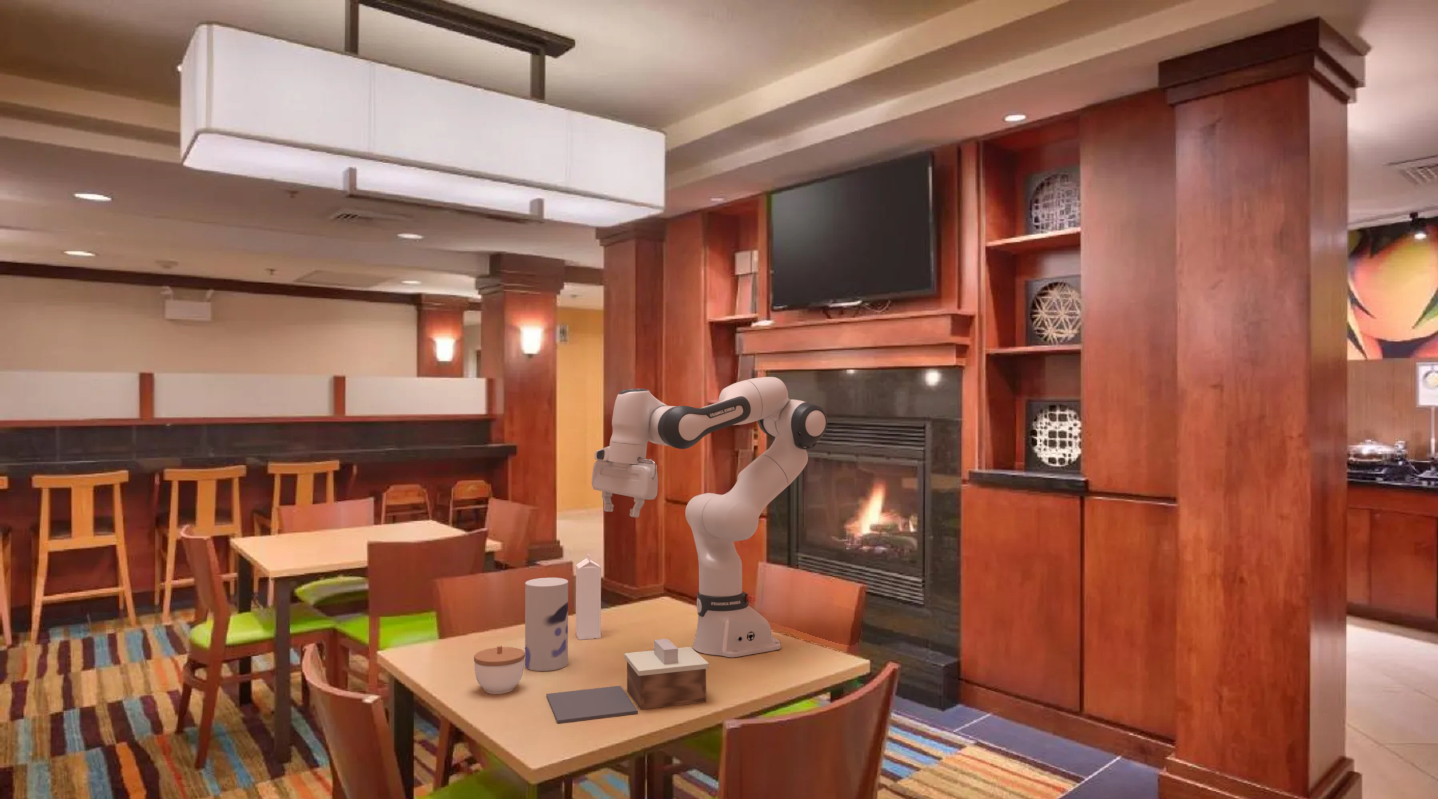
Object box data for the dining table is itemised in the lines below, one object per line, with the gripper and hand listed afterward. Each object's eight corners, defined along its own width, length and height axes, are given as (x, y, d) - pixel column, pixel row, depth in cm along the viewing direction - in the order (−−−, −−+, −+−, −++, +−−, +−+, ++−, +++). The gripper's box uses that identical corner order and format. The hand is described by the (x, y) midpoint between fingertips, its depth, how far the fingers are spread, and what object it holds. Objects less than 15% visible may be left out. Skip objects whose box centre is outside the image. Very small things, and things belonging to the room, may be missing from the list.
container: (558, 673, 192) (558, 586, 192) (517, 670, 194) (518, 584, 194) (574, 660, 201) (574, 577, 202) (535, 657, 203) (536, 576, 204)
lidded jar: (479, 682, 185) (479, 640, 185) (528, 681, 186) (528, 639, 186) (468, 698, 174) (469, 654, 175) (520, 697, 175) (520, 652, 176)
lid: (690, 654, 185) (690, 633, 185) (708, 672, 173) (708, 649, 173) (624, 661, 180) (624, 639, 180) (638, 679, 168) (638, 656, 168)
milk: (578, 640, 219) (578, 556, 219) (575, 634, 225) (575, 552, 225) (601, 638, 221) (601, 555, 221) (598, 632, 227) (597, 551, 227)
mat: (620, 688, 181) (620, 685, 181) (638, 713, 166) (638, 710, 166) (546, 696, 176) (546, 693, 176) (557, 723, 161) (557, 720, 161)
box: (688, 683, 184) (688, 652, 184) (705, 701, 173) (705, 667, 173) (627, 690, 179) (627, 658, 180) (640, 709, 168) (640, 674, 168)
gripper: (667, 460, 192) (660, 520, 191) (610, 452, 206) (604, 508, 205) (646, 459, 187) (640, 520, 187) (590, 451, 201) (584, 508, 200)
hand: (621, 514), depth 196 cm, fingers open, 8 cm apart
